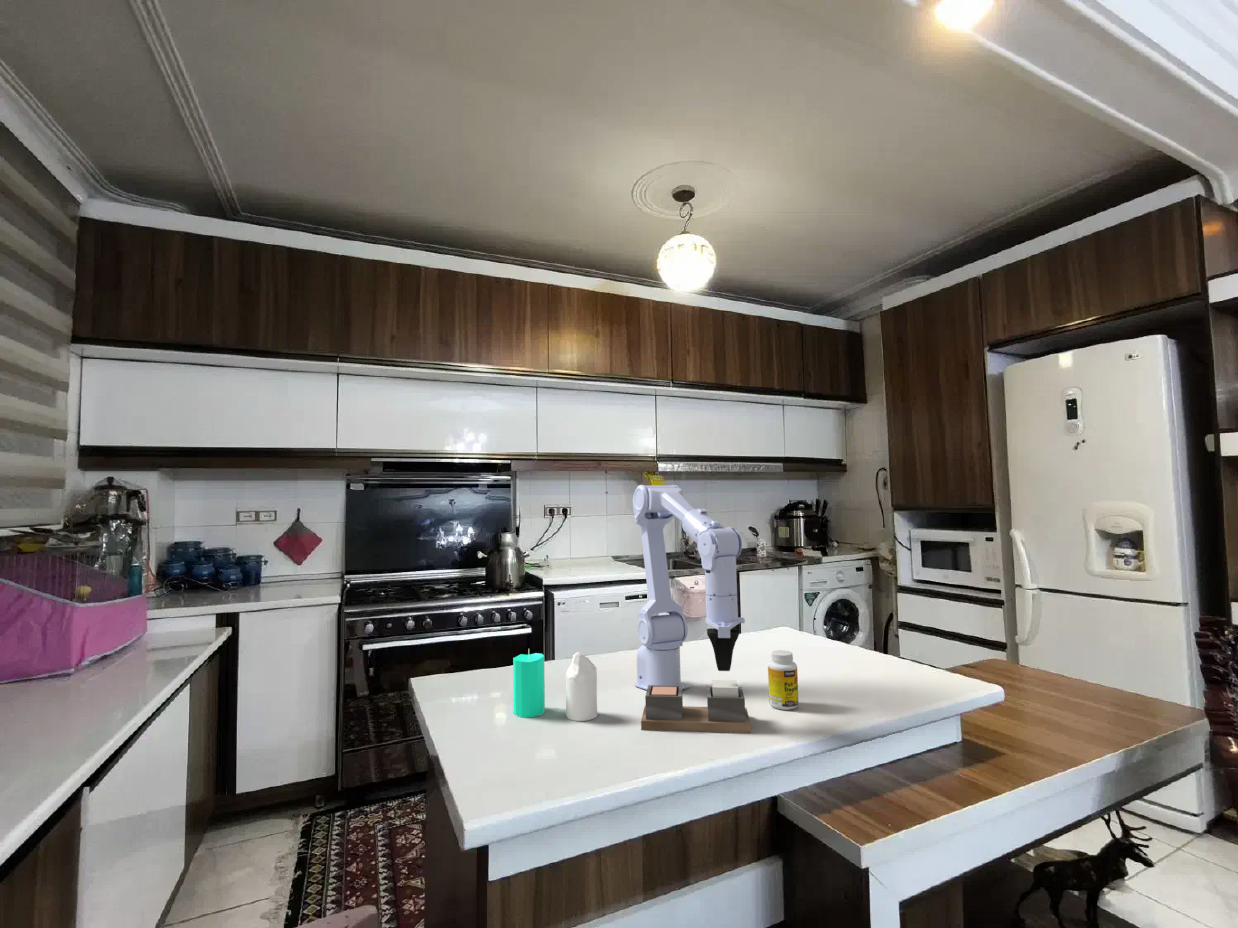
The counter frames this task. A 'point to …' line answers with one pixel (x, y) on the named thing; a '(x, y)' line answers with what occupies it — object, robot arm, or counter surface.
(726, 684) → the white key
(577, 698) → the white bottle
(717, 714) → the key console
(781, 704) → the supplement bottle
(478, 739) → the counter surface
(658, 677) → the robot arm
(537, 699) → the candle
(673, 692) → the clay key
